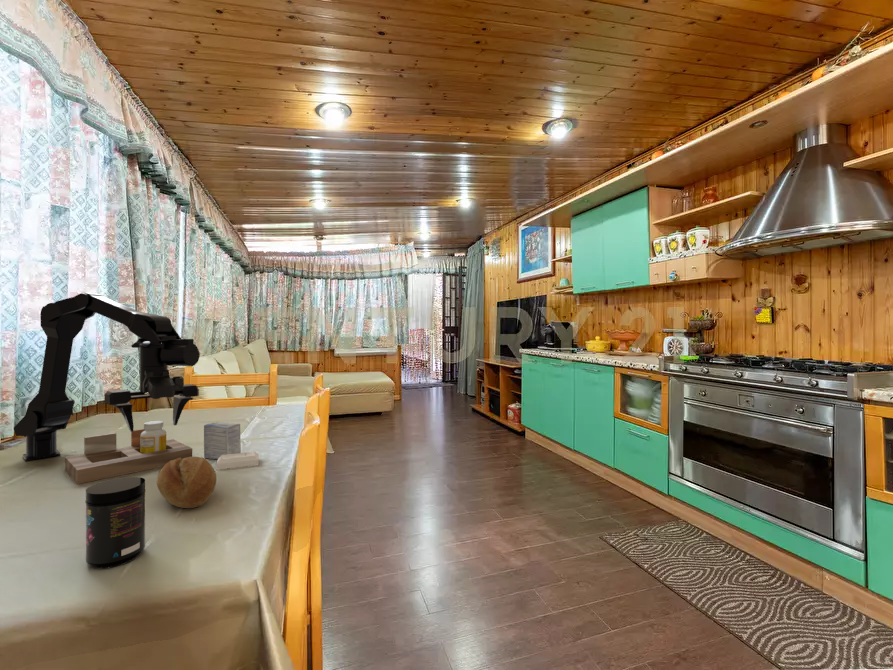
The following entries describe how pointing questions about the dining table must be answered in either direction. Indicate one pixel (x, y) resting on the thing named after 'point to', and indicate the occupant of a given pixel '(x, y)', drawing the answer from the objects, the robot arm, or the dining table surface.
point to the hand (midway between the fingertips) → (154, 428)
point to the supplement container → (115, 521)
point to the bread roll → (187, 481)
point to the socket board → (119, 457)
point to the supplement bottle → (153, 437)
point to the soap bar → (237, 460)
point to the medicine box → (221, 439)
